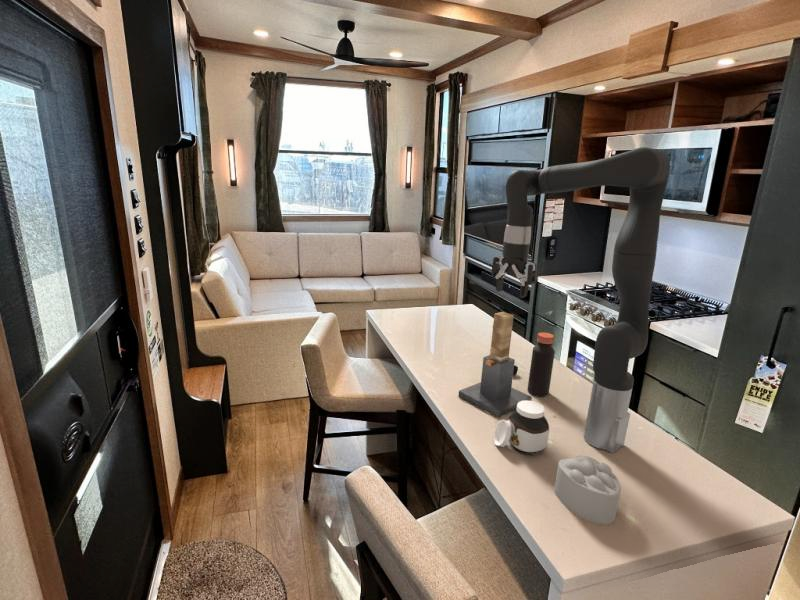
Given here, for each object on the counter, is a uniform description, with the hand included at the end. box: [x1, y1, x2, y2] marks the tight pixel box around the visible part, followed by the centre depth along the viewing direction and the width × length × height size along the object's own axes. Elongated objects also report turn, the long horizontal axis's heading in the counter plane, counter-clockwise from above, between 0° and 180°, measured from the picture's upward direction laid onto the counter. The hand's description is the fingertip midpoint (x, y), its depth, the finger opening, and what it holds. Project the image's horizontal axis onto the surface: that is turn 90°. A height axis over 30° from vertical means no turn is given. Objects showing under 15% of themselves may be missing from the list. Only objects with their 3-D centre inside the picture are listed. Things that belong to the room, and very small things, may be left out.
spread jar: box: [493, 400, 550, 455], centre depth 116 cm, size 12×11×12 cm
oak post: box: [489, 311, 515, 363], centre depth 136 cm, size 4×4×20 cm
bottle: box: [527, 331, 556, 398], centre depth 145 cm, size 7×7×20 cm
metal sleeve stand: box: [457, 354, 533, 419], centre depth 139 cm, size 16×16×14 cm
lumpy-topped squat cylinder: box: [553, 455, 622, 526], centre depth 97 cm, size 10×13×9 cm
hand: (510, 294), depth 136 cm, fingers open, 8 cm apart
